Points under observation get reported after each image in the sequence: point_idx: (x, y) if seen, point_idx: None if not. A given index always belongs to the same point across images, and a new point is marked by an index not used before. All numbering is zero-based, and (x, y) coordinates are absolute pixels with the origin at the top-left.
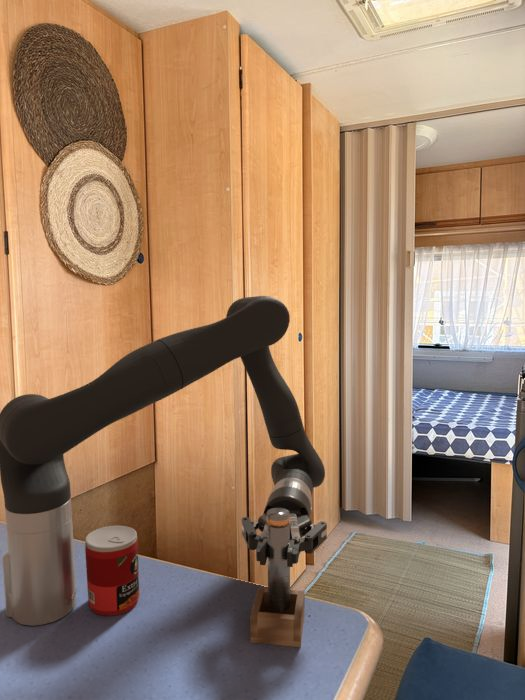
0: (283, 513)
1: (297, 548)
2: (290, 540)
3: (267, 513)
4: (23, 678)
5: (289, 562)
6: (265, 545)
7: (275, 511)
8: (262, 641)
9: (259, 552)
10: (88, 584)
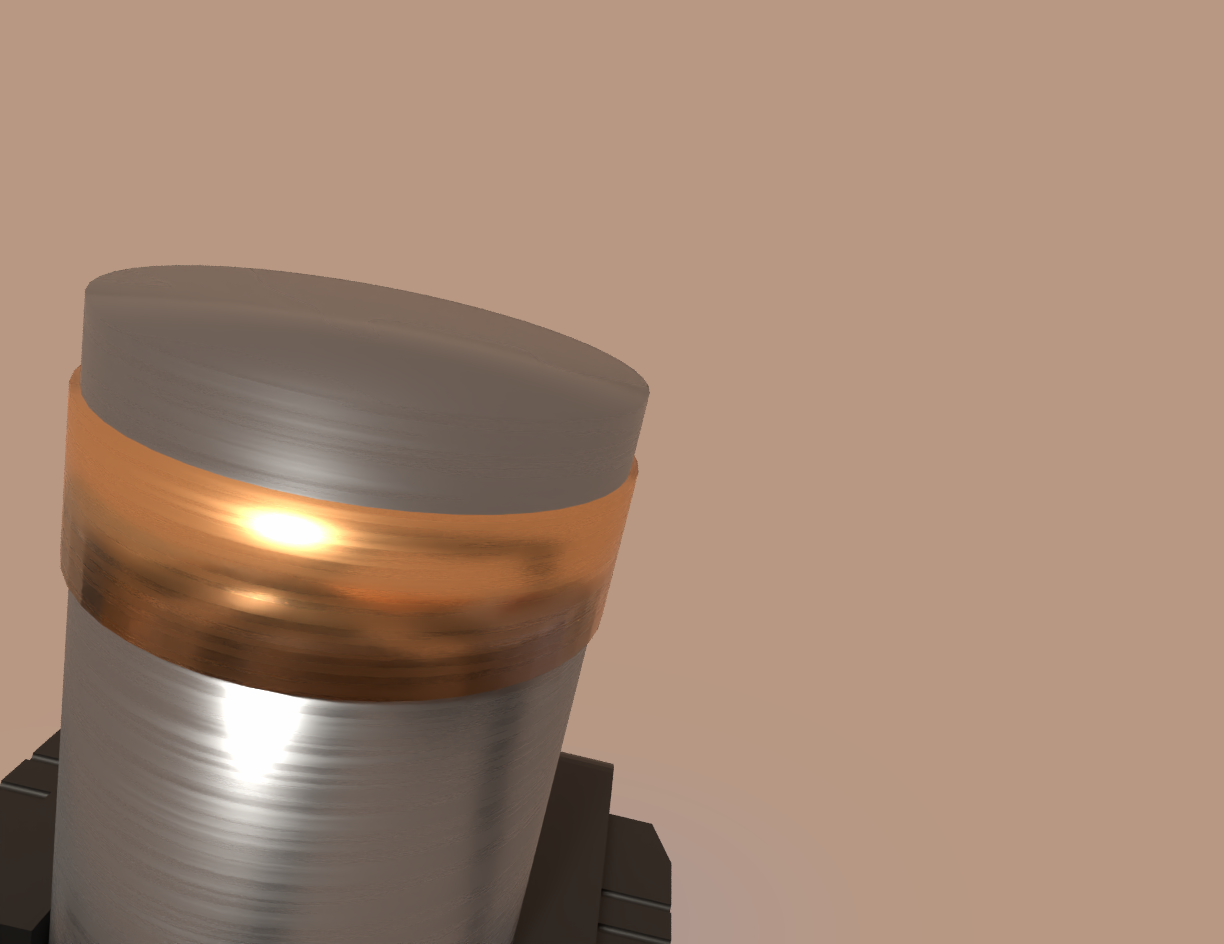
0: (278, 296)
1: (12, 789)
2: (32, 907)
3: (628, 374)
4: None
5: None
6: (543, 839)
7: (445, 357)
8: None
9: (614, 822)
10: None
